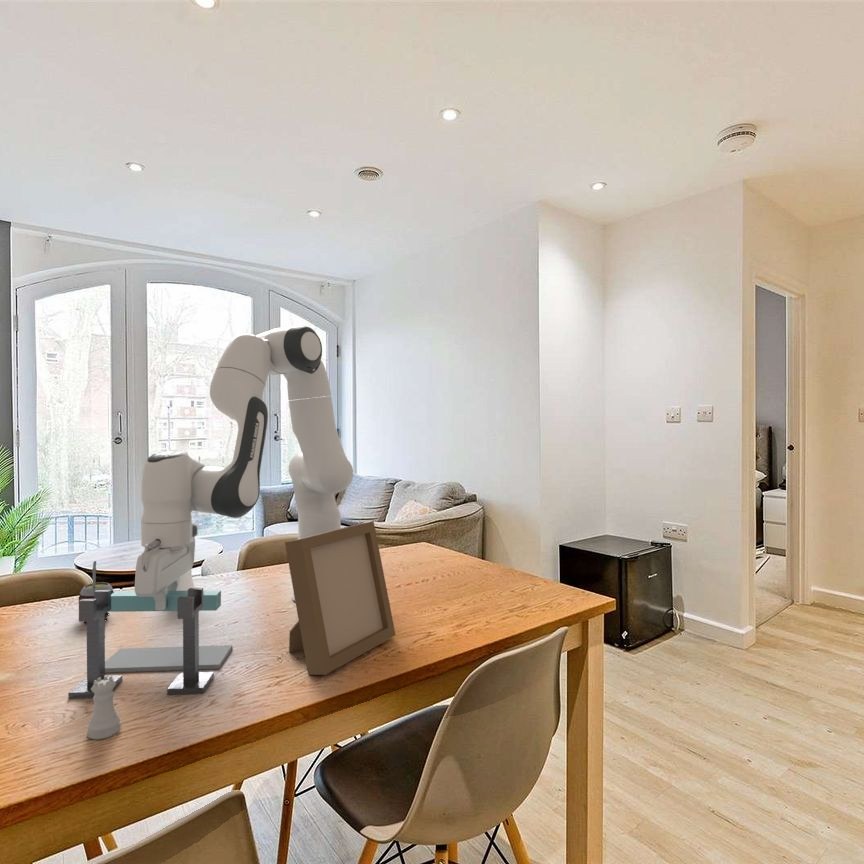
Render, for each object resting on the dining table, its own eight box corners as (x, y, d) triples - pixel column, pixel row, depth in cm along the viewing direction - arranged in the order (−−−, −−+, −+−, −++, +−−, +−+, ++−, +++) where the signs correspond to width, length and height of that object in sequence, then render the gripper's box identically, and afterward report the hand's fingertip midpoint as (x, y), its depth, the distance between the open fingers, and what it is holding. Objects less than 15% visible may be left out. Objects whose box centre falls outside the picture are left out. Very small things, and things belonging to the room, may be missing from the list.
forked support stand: (213, 677, 101) (213, 587, 101) (203, 693, 95) (202, 598, 95) (87, 681, 99) (86, 590, 99) (68, 698, 93) (67, 601, 93)
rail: (220, 605, 110) (221, 590, 110) (216, 610, 107) (216, 595, 107) (115, 606, 108) (116, 591, 108) (108, 611, 105) (108, 596, 105)
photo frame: (395, 639, 118) (394, 523, 118) (325, 680, 100) (323, 542, 100) (343, 626, 126) (341, 517, 126) (268, 662, 108) (266, 534, 108)
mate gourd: (99, 612, 135) (98, 551, 134) (123, 616, 132) (123, 554, 132) (69, 623, 127) (69, 558, 127) (95, 627, 125) (94, 561, 125)
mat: (232, 648, 113) (232, 645, 113) (219, 668, 104) (219, 664, 104) (120, 652, 112) (120, 648, 111) (97, 672, 103) (97, 668, 103)
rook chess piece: (96, 725, 85) (95, 673, 85) (126, 723, 86) (125, 672, 85) (80, 741, 81) (79, 687, 80) (112, 740, 81) (111, 686, 81)
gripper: (162, 546, 97) (161, 624, 98) (200, 525, 118) (200, 589, 118) (124, 546, 97) (124, 625, 97) (170, 525, 117) (169, 590, 117)
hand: (166, 605), depth 108 cm, fingers closed on rail, 3 cm apart
